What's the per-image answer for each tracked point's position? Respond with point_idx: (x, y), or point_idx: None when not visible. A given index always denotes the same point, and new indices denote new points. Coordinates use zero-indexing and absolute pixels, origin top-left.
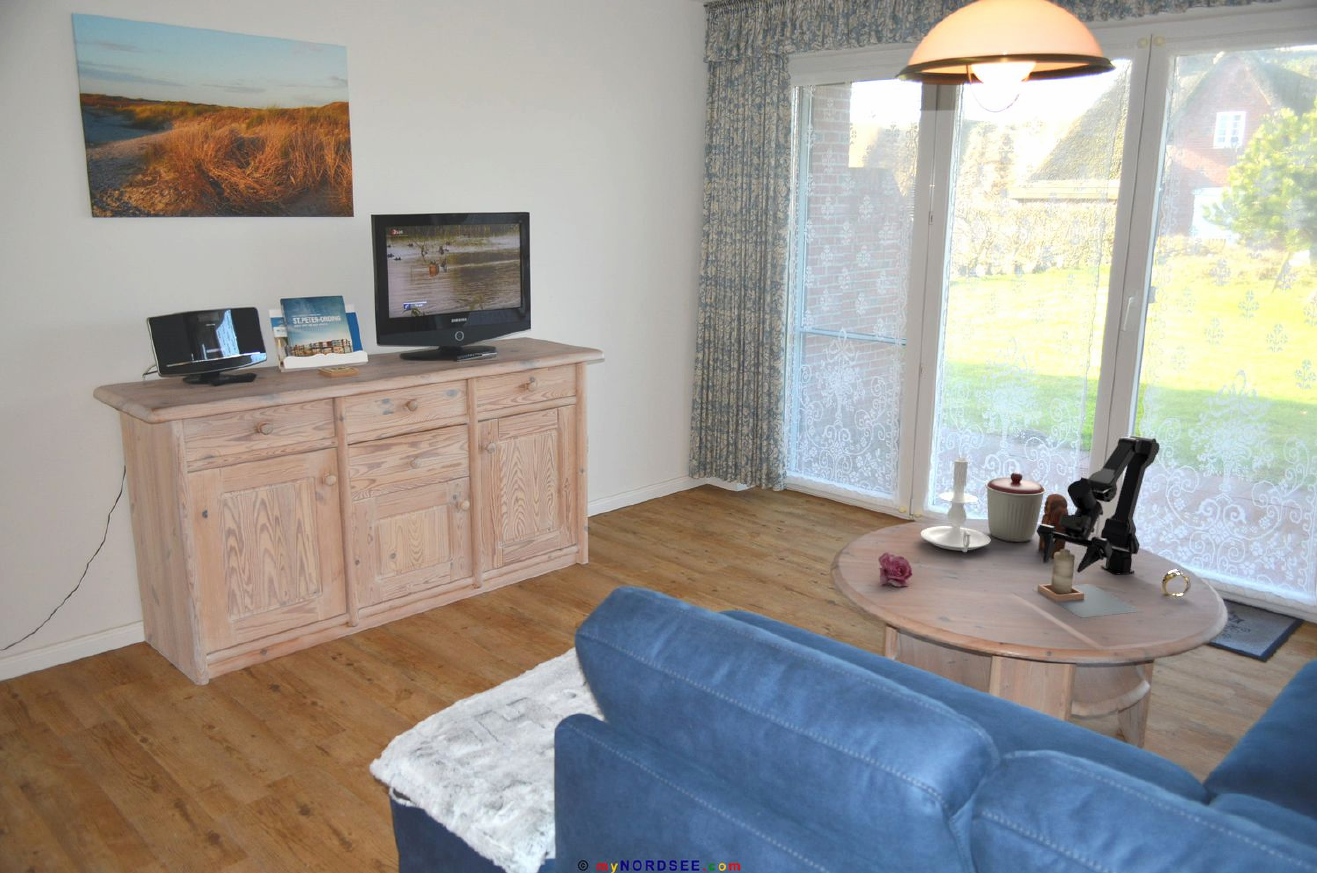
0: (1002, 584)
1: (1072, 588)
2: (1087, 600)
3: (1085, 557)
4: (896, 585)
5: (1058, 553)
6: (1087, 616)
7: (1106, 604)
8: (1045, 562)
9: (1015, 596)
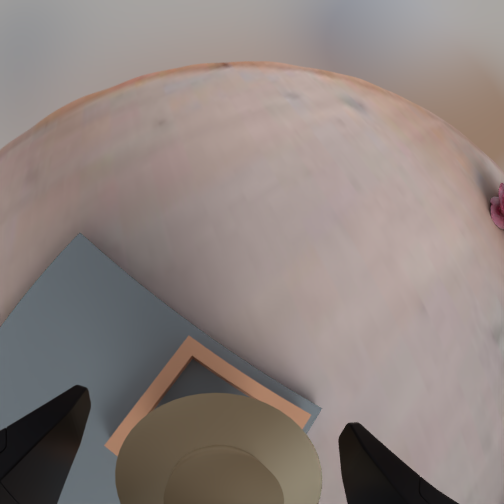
0: (418, 402)
1: None
2: (94, 430)
3: (6, 449)
4: (493, 198)
5: (288, 488)
6: (63, 255)
7: None
8: (342, 436)
9: (342, 327)
